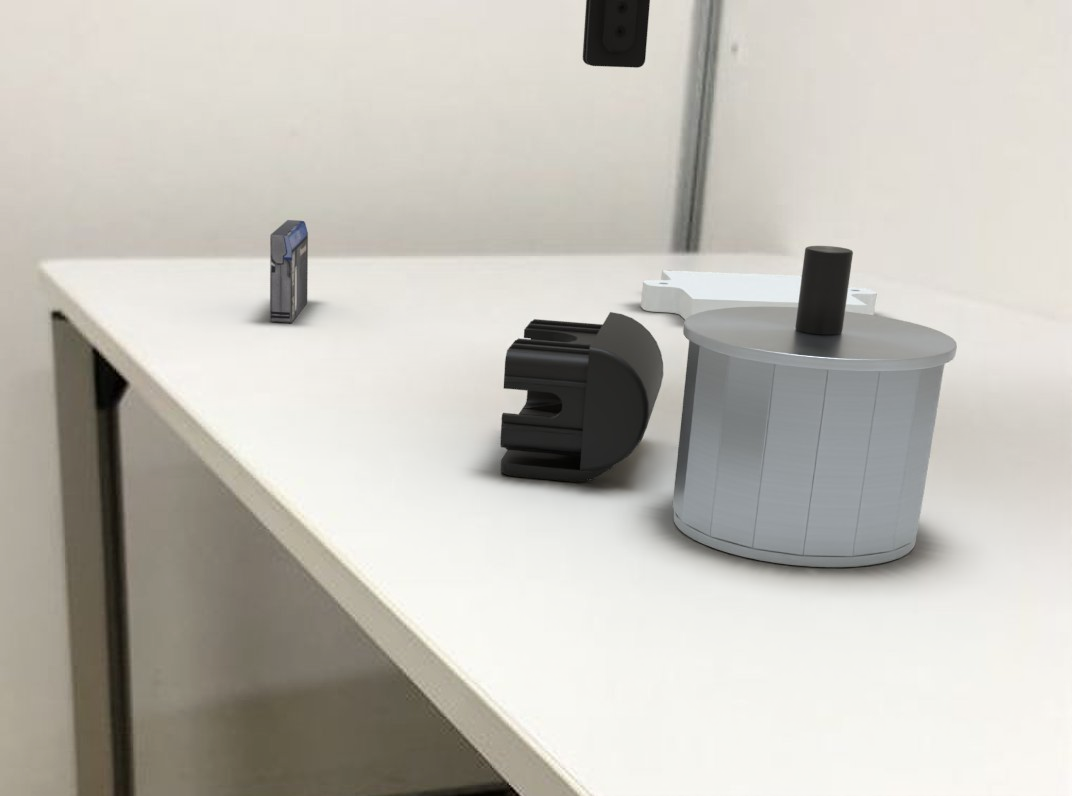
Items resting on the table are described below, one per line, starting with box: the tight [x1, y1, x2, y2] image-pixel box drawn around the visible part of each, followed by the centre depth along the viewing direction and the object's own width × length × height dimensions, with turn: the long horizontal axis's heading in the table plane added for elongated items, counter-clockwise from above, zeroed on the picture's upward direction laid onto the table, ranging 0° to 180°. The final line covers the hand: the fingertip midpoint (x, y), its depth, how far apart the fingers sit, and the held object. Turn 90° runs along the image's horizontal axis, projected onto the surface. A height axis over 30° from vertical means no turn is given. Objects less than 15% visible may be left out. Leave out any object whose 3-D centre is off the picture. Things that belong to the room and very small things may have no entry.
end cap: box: [500, 311, 664, 483], centre depth 82 cm, size 10×7×7 cm
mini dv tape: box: [269, 219, 309, 324], centre depth 116 cm, size 8×2×6 cm, turn 176°
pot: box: [672, 340, 945, 568], centre depth 72 cm, size 11×11×8 cm
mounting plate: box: [640, 270, 878, 321], centre depth 125 cm, size 18×13×2 cm
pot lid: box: [682, 245, 958, 372], centre depth 70 cm, size 12×12×5 cm
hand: (613, 65), depth 88 cm, fingers closed
